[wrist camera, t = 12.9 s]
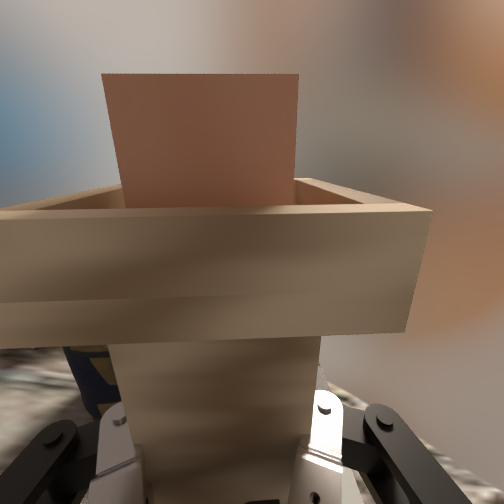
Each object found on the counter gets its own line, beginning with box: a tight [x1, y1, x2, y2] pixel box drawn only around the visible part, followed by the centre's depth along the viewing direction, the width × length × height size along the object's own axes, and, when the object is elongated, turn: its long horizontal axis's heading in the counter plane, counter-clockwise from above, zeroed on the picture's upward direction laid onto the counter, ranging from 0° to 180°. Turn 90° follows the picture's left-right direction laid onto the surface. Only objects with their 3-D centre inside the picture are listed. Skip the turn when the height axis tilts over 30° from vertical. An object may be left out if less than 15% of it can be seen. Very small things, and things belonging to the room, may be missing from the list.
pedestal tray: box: [0, 178, 433, 504], centre depth 11 cm, size 8×8×16 cm
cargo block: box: [101, 74, 299, 208], centre depth 8 cm, size 4×4×4 cm
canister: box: [62, 345, 121, 420], centre depth 23 cm, size 10×10×18 cm
